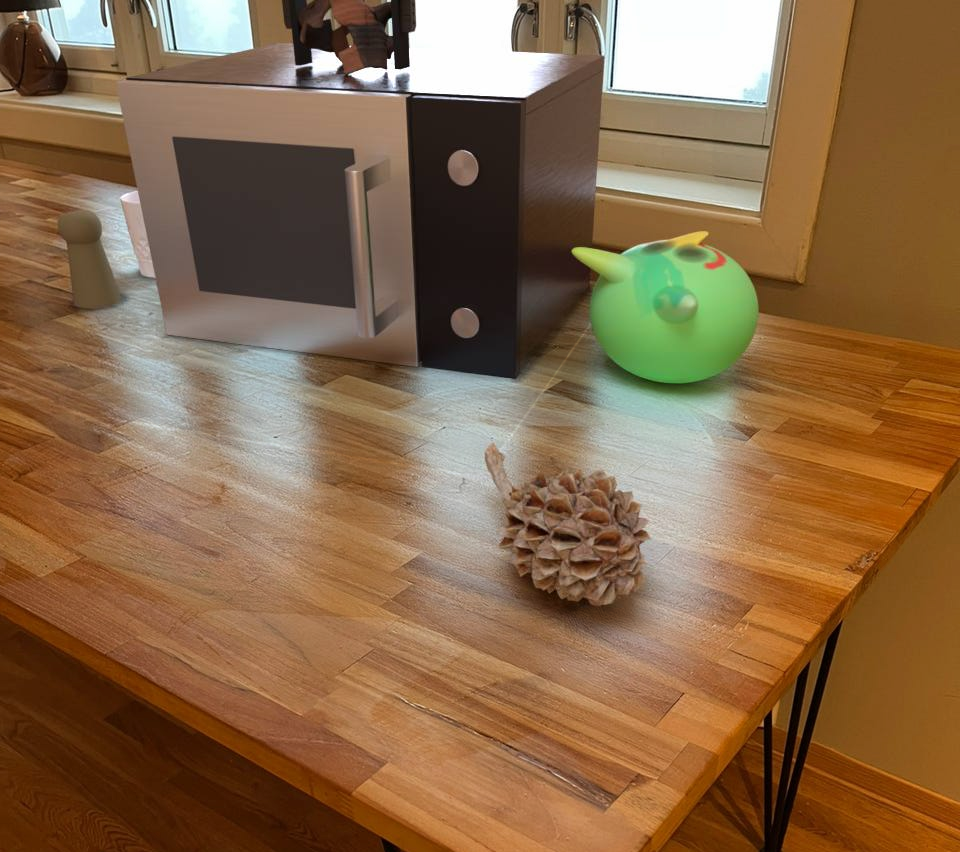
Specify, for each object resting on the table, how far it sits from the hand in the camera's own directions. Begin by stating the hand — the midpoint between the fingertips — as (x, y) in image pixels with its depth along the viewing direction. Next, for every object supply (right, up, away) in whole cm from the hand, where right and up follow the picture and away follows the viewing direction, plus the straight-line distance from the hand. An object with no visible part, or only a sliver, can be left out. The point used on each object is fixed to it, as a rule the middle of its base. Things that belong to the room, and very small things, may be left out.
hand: (352, 66), depth 106 cm
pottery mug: (+1, 0, 0) cm, 1 cm away
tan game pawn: (-36, -19, +21) cm, 46 cm away
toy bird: (+34, -34, 0) cm, 48 cm away
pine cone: (+19, -58, -30) cm, 68 cm away
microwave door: (-9, -31, +4) cm, 33 cm away
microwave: (+3, -21, +17) cm, 27 cm away
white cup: (-31, -11, +31) cm, 45 cm away
